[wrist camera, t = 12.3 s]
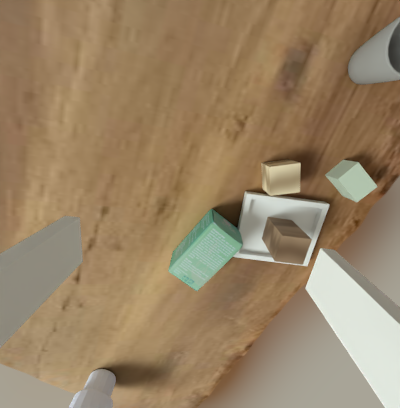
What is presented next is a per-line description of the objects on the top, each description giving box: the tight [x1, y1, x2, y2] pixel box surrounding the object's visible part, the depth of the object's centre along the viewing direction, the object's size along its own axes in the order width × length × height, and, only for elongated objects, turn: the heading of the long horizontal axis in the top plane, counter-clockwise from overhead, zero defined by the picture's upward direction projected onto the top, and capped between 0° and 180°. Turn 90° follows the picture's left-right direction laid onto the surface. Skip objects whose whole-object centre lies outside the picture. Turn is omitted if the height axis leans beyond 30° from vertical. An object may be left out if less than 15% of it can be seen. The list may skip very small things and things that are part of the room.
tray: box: [233, 191, 330, 266], centre depth 41 cm, size 14×16×2 cm
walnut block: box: [262, 217, 312, 265], centre depth 38 cm, size 5×5×8 cm
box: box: [168, 209, 243, 291], centre depth 40 cm, size 7×14×8 cm, turn 141°
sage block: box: [326, 160, 377, 202], centre depth 37 cm, size 6×4×4 cm, turn 46°
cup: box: [348, 17, 400, 85], centre depth 28 cm, size 8×10×8 cm
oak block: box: [262, 159, 301, 196], centre depth 36 cm, size 5×5×5 cm
